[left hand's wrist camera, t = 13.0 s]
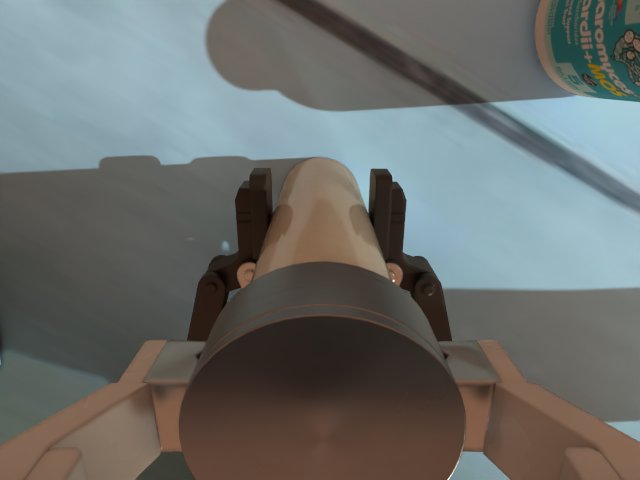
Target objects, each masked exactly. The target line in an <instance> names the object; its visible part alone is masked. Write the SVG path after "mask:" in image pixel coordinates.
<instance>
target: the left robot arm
mask: <svg viewBox="0 0 640 480" xmlns="http://www.w3.org/2000/svg"><path fill="white" fill-rule="evenodd" d="M206 342H207V341H194V340H148V341H146V342H145V343H144V344H143V345H142V347H141V348H140V350H139V351H138V353H137V354H136V356H135V357H134V359H133V360H132V362H131V363H130V365H129V366H128V368H127V369H126V371H125V372H124V374H123V375H122V377H121V378H120V380H119V381H118V383H110V384H108V385H106V386H104V387H103V388H101V389H99V390H97V391H95V392H94V393H92V394H90V395H88V396H87V397H85V398H83V399H81V400H79V401H78V402H76V403H74V404H72V405H71V406H69V407H67V408H65V409H63V410H62V411H60V412H58V413H56V414H55V415H53V416H51V417H49V418H47V419H46V420H44V421H42V422H40V423H39V424H37V425H35V426H33V427H31V428H30V429H28V430H26V431H24V432H23V433H21V434H19V435H17V436H15V437H14V438H12V439H10V440H8V441H7V442H5V443H3V444H1V445H0V480H134V479H135V478H136V477H137V476H138V475H139V474H141V473H142V472H143V471H144V470H145V469H146V468H147V467H148V466H149V465H150V464H151V463H152V462H153V461H154V460H155V459H156V458H157V457H158V456H159V455H160V454H161V452H172V451H182V449H181V444H180V439H179V414H180V407H181V403H182V400H183V397H184V394H185V391H186V389H187V386H188V384H189V382H190V380H191V377H192V375H193V372H194V370H195V367H196V365H197V363H198V360H199V358H200V356H201V353H202V351H203V349H204V346H205V344H206ZM437 342H438V344H439V346H440V348H441V351H442V353H443V355H444V357H445V360H446V362H447V364H448V366H449V369H450V371H451V373H452V375H453V377H454V380H455V382H456V384H457V387H458V389H459V391H460V394H461V396H462V399H463V404H464V408H465V412H466V436H465V444H464V447H463V451H471V452H483V454H484V455H485V456H486V457H487V458H488V459H489V460H490V461H492V462H493V463H494V464H495V465H496V466H497V467H498V468H499V469H500V470H501V471H502V472H503V473H504V474H505V475H506V476H507V477H508V478H509V479H510V480H640V442H639V441H637V440H635V439H633V438H632V437H630V436H628V435H626V434H624V433H623V432H621V431H619V430H617V429H615V428H614V427H612V426H610V425H608V424H606V423H605V422H603V421H601V420H599V419H598V418H596V417H594V416H592V415H590V414H589V413H587V412H585V411H583V410H581V409H580V408H578V407H576V406H574V405H572V404H571V403H569V402H567V401H565V400H564V399H562V398H560V397H558V396H556V395H555V394H553V393H551V392H549V391H547V390H546V389H544V388H542V387H540V386H539V385H537V384H535V383H527V382H526V380H525V379H524V377H523V376H522V375H521V373H520V372H519V370H518V369H517V367H516V366H515V364H514V363H513V362H512V360H511V359H510V357H509V356H508V354H507V353H506V352H505V350H504V349H503V347H502V346H501V344H500V343H499V342H498V341H497V340H474V341H437Z"/></svg>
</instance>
